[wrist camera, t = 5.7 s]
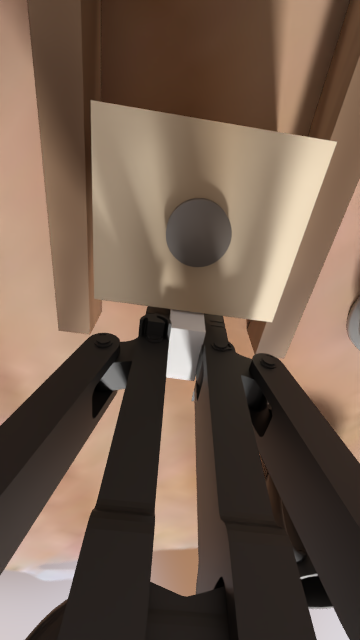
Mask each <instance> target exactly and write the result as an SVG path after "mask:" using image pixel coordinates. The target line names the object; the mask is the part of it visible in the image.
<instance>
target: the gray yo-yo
mask: <svg viewBox="0 0 360 640" xmlns="http://www.w3.org/2000/svg"><path fill="white" fill-rule="evenodd" d="M346 327H347V333H348V336H349V338H350V340H351V341H352V343H353V344H354V345H355V346H356V347H357V348H358V349H359V350H360V296H359V297H358V298H357V300H356V301H355V302H354V304H353V306H352V307H351V309H350V312H349V314H348V318H347V324H346Z"/></svg>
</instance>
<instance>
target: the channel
mask: <svg viewBox="0 0 360 640" xmlns="http://www.w3.org/2000/svg"><path fill="white" fill-rule="evenodd" d="M27 3H28V14H29V24H30V35H31V45H32V56H33V66H34V77H35V87H36V98H37V108H38V119H39V129H40V140H41V150H42V160H43V171H44V181H45V192H46V202H47V213H48V223H49V234H50V244H51V255H52V265H53V276H54V286H55V297H56V307H57V318H58V328H59V331H66V332H74V333H82V334H90V333H91V331H92V330H93V328H94V326H95V324H96V322H97V320H98V318H99V316H100V314H101V312H102V300H99V299H94V264H93V207H92V150H91V100H93V101H99V102H101V0H27ZM308 137H311V138H317V139H323V140H329V141H335V142H337V144H336V146H335V149H334V152H333V155H332V157H331V160H330V163H329V166H328V169H327V171H326V174H325V177H324V180H323V182H322V185H321V188H320V191H319V194H318V196H317V199H316V202H315V205H314V207H313V210H312V213H311V216H310V219H309V221H308V224H307V227H306V230H305V232H304V235H303V238H302V241H301V243H300V246H299V249H298V252H297V255H296V257H295V260H294V263H293V266H292V268H291V271H290V274H289V277H288V280H287V282H286V285H285V288H284V291H283V293H282V296H281V299H280V302H279V304H278V307H277V310H276V313H275V316H274V318H273V321H272V322H266V321H258V320H250V323H249V326H248V329H247V332H248V335H249V338H250V341H251V344H252V347H253V350H254V353H255V354H258V353H266V354H269V355H272V356H274V357H276V358H282V359H284V358H285V355H286V353H287V351H288V348H289V346H290V343H291V341H292V339H293V336H294V334H295V331H296V329H297V327H298V324H299V322H300V320H301V317H302V315H303V312H304V310H305V308H306V305H307V303H308V300H309V298H310V296H311V293H312V291H313V288H314V286H315V284H316V281H317V279H318V277H319V274H320V272H321V269H322V267H323V265H324V262H325V260H326V257H327V255H328V253H329V250H330V248H331V245H332V243H333V241H334V238H335V236H336V234H337V231H338V229H339V226H340V224H341V222H342V219H343V217H344V214H345V212H346V210H347V207H348V205H349V202H350V200H351V198H352V195H353V193H354V191H355V188H356V186H357V183H358V181H359V179H360V0H350V3H349V6H348V9H347V13H346V16H345V19H344V22H343V25H342V29H341V32H340V35H339V38H338V41H337V45H336V48H335V51H334V54H333V57H332V61H331V64H330V67H329V70H328V73H327V77H326V80H325V83H324V86H323V89H322V93H321V96H320V99H319V102H318V105H317V109H316V112H315V115H314V118H313V121H312V125H311V128H310V131H309V134H308Z"/></svg>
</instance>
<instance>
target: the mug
mask: <svg viewBox="0 0 360 640" xmlns="http://www.w3.org/2000/svg"><path fill="white" fill-rule="evenodd" d="M265 481H266V486H267V490H268V494H269V499H270V503H271V507H272V512H273V516H274V519H275V522H276V523H277V525H278V526H280V527H281V528H283V529H285V531H286V533H287V534H288V536H289V539H290V542H291V545H292V548H293V551H294V555H295V559H296V563H297V567H298V570H299V574H300V578H301V582H302V586H303V590H304V593H305V597H306V601H307V605H308V608H309V609H327V608H334V607H333V605H332V603H331V601H330V599H329V597H328V595H327V593H326V591H325V589H324V587H323V585H322V582H321V580H320V578H319V576H318V574H317V572H316V570H315V568H314V566H313V564H312V562H311V560H310V557H309V555H308V553H307V551H306V549H305V547H304V545H303V543H302V541H301V539H300V537H299V535H298V532H297V530H296V528H295V526H294V524H293V522H292V520H291V518H290V516H289V514H288V512H287V509H286V507H285V505H284V503H283V501H282V499H281V497H280V495H279V493H278V491H277V489H276V487H275V484H274V482H273V480H272V478H271V476H270V474H268V475H267V476H266V479H265Z"/></svg>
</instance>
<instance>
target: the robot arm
mask: <svg viewBox="0 0 360 640" xmlns="http://www.w3.org/2000/svg"><path fill="white" fill-rule="evenodd" d="M195 376H196V384H195V388H194V392H193V396H192V401H194V399H195V436H196V475H197V515H198V552H199V553H198V554H199V565H198V576H197V583H196V595H192V596H188V597H185V596H181V595H178V594H176V593H174V592H172V591H170V590H167V589H165V588H163V587H161V586H158V585H156V584H154V583H152V582H150V577H151V565H152V552H153V540H154V527H155V499H156V487H157V476H158V464H159V452H160V441H161V429H162V418H163V406H164V395H165V383H166V377H167V378H175V379H183V380H191V381H194V380H195ZM119 389H125V392H124V396H123V400H122V404H121V408H120V412H119V416H118V420H117V424H116V428H115V432H114V436H113V440H112V444H111V448H110V452H109V456H108V460H107V463H106V467H105V471H104V475H103V479H102V483H101V487H100V491H99V495H98V499H97V503H96V506H95V508H94V509H93V510H92V512H91V515H90V518H89V521H88V525H87V528H86V532H85V536H84V540H83V543H82V547H81V551H80V555H79V559H78V562H77V566H76V570H75V574H74V578H73V582H72V586H71V589H70V593H69V597H68V599H67V600H65V601H64V602H63V603H61V604H60V605H59V606H57V607H56V608H55V609H53V610H52V611H51V612H50V613H49V614H48V615H47V616H46V617H45V618H44V619H43V620H42V621H41V622H40V623H39V624H38V625H37V627H35V629H34V630H33V631H32V632H31V633H30V634H29V636H28V637H27V638H26V639H25V640H317V639H316V636H315V632H314V628H313V624H312V620H311V616H310V613H309V609H308V605H307V601H306V597H305V593H304V590H303V586H302V582H301V578H300V574H299V570H298V567H297V563H296V559H295V555H294V551H293V548H292V545H291V542H290V539H289V536H288V534H287V533H286V531H285V529H283V528H281V527H280V526H278V525H277V523H276V522H275V519H274V516H273V512H272V507H271V503H270V499H269V494H268V490H267V486H266V481H265V477H264V473H263V468H262V464H261V460H260V456H259V453H260V455H261V457H262V459H263V462H264V464H265V466H266V468H267V470H268V472H269V474H270V476H271V478H272V480H273V482H274V484H275V487H276V489H277V491H278V493H279V495H280V497H281V499H282V501H283V503H284V505H285V507H286V509H287V512H288V514H289V516H290V518H291V520H292V522H293V524H294V526H295V528H296V530H297V532H298V535H299V537H300V539H301V541H302V543H303V545H304V547H305V549H306V551H307V553H308V555H309V557H310V560H311V562H312V564H313V566H314V568H315V570H316V572H317V574H318V576H319V578H320V580H321V582H322V585H323V587H324V589H325V591H326V593H327V595H328V597H329V599H330V601H331V603H332V605H333V607H334V609H335V612H336V614H337V616H338V618H339V620H340V622H341V624H342V626H343V628H344V630H345V631H346V634H347V636H348V637H349V639H350V640H360V463H359V462H358V461H357V459H356V458H355V457H354V456H353V454H352V453H351V452H350V450H349V449H348V448H347V446H346V445H345V444H344V442H343V441H342V440H341V439H340V437H339V436H338V435H337V433H336V432H335V431H334V429H333V428H332V427H331V426H330V424H329V423H328V422H327V420H326V419H325V418H324V416H323V415H322V414H321V413H320V411H319V410H318V409H317V407H316V406H315V405H314V403H313V402H312V401H311V400H310V398H309V397H308V396H307V394H306V393H305V392H304V390H303V389H302V388H301V387H300V385H299V384H298V383H297V381H296V380H295V379H294V377H293V376H292V375H291V374H290V372H289V371H288V370H287V368H286V367H285V366H284V364H283V363H282V362H281V361H280V360H279V359H278V358H276V357H274V356H272V355H269V354H266V353H258V354H255V355H254V356H253V358H252V359H250V358H247V357H244V356H241V355H239V354H237V353H236V352H235V348H234V346H233V345H232V344H231V343H230V342H228V338H227V333H226V329H225V324H224V319H223V316H220V315H213V314H205V313H197V312H190V311H182V310H175V309H167V308H160V307H152V306H148V307H147V311H146V315H145V316H143V317H142V318H141V319H140V325H139V336H138V338H136V339H134V340H131V341H126V342H120V340H119V338H118V337H116V336H115V335H113V334H109V333H98V334H94V335H92V336H91V337H89V338H88V339H87V340H86V341H85V342H84V343H83V344H82V345H81V346H80V347H79V348H78V349H77V350H76V351H75V352H74V353H73V354H72V355H71V356H70V357H69V358H68V359H67V360H66V361H65V362H64V363H63V364H62V365H61V366H60V367H59V368H58V369H57V370H56V371H55V372H54V373H53V374H52V375H51V376H50V377H49V378H48V379H47V380H46V381H45V382H44V383H43V384H42V385H41V386H40V387H39V388H38V389H37V390H36V391H35V392H34V393H33V394H32V395H31V396H30V397H29V398H28V399H27V400H26V401H25V402H24V403H23V404H22V405H21V406H20V407H19V408H18V409H17V410H16V411H15V412H14V413H13V414H12V415H11V416H10V417H9V418H8V419H7V420H6V421H5V422H4V423H3V424H2V425H1V426H0V575H1V573H2V572H3V570H4V569H5V567H6V566H7V564H8V562H9V561H10V559H11V558H12V556H13V555H14V553H15V551H16V550H17V548H18V547H19V545H20V544H21V542H22V541H23V539H24V537H25V536H26V534H27V533H28V531H29V530H30V528H31V526H32V525H33V523H34V522H35V520H36V519H37V517H38V516H39V514H40V512H41V511H42V509H43V508H44V506H45V505H46V503H47V502H48V500H49V498H50V497H51V495H52V494H53V492H54V491H55V489H56V487H57V486H58V484H59V483H60V481H61V480H62V478H63V477H64V475H65V473H66V472H67V470H68V469H69V467H70V466H71V464H72V462H73V461H74V459H75V458H76V456H77V455H78V453H79V452H80V450H81V448H82V447H83V445H84V444H85V442H86V441H87V439H88V437H89V436H90V434H91V433H92V431H93V430H94V428H95V427H96V425H97V423H98V422H99V420H100V419H101V417H102V416H103V414H104V412H105V411H106V409H107V408H108V406H109V405H110V403H111V402H112V400H113V398H114V397H115V395H116V394H117V391H118V390H119Z"/></svg>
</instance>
